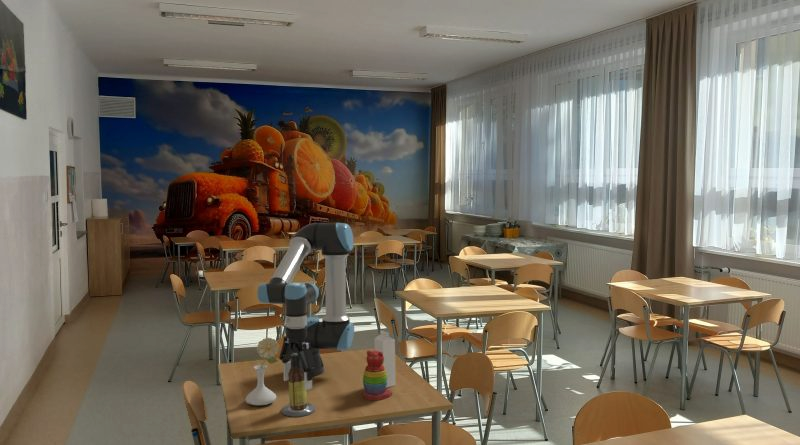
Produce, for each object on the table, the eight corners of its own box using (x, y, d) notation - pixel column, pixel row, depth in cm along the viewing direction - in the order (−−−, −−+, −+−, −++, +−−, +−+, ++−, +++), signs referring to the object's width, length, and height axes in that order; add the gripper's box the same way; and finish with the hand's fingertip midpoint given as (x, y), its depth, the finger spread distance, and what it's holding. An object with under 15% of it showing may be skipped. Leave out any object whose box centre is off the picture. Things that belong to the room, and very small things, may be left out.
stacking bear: (394, 394, 248) (393, 349, 247) (382, 402, 239) (381, 355, 238) (369, 390, 253) (369, 345, 251) (357, 398, 244) (356, 352, 242)
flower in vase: (241, 408, 235) (239, 341, 233) (250, 397, 246) (248, 333, 244) (276, 408, 234) (275, 341, 232) (284, 397, 245) (282, 333, 243)
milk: (383, 388, 254) (382, 334, 252) (374, 384, 259) (373, 331, 257) (395, 385, 258) (395, 331, 256) (387, 381, 263) (386, 329, 261)
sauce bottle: (310, 405, 233) (309, 352, 232) (302, 412, 228) (300, 357, 226) (294, 404, 236) (293, 351, 234) (285, 409, 230) (284, 355, 228)
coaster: (275, 410, 232) (275, 408, 232) (302, 402, 240) (302, 399, 240) (293, 419, 223) (293, 417, 223) (321, 410, 231) (321, 408, 231)
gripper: (269, 322, 236) (270, 378, 237) (307, 334, 217) (308, 395, 219) (286, 319, 241) (287, 374, 242) (325, 330, 222) (326, 390, 224)
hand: (297, 384), depth 231 cm, fingers open, 13 cm apart
